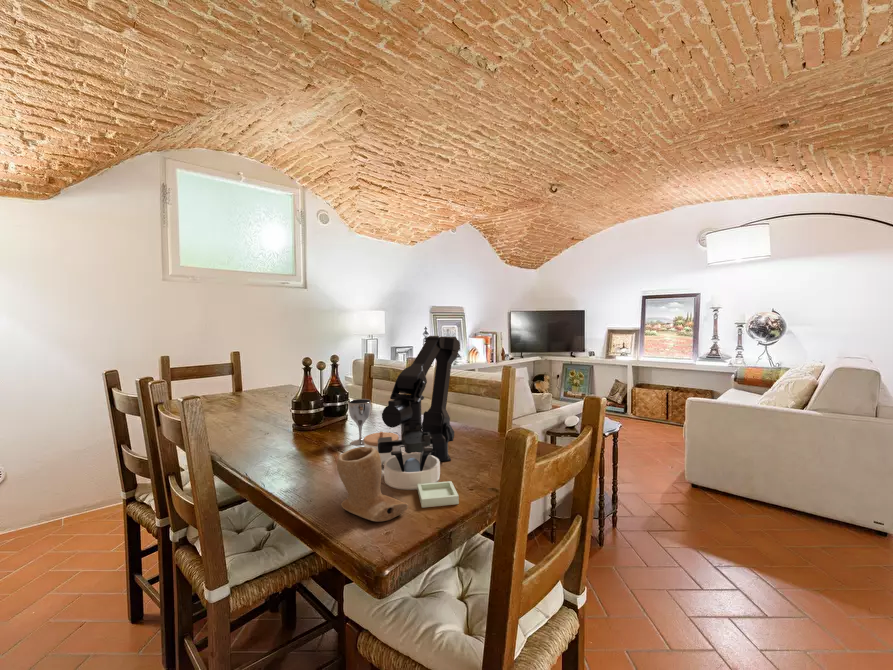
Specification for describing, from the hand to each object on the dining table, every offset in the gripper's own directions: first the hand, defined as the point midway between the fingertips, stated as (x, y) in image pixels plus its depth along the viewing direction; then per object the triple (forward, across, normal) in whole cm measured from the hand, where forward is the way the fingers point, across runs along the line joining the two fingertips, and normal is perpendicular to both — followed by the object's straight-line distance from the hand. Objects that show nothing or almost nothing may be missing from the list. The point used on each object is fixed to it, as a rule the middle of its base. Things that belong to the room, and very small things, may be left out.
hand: (412, 473), depth 116 cm
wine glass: (+2, -15, +36) cm, 39 cm away
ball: (-2, 0, 0) cm, 2 cm away
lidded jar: (+2, -8, +15) cm, 17 cm away
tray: (+1, +5, -14) cm, 14 cm away
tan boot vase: (+2, -12, -18) cm, 22 cm away
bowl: (+1, 0, 0) cm, 1 cm away
